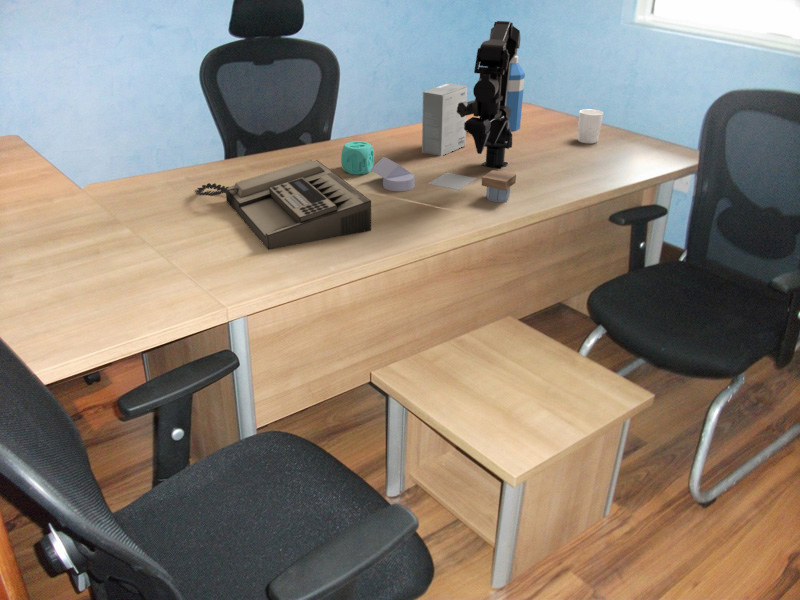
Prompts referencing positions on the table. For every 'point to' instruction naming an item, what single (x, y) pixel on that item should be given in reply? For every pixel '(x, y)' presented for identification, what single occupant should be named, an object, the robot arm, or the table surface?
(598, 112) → the white cup
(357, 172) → the decorative dice
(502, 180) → the block
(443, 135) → the hard drive box
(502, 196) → the grey ring collar
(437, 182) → the mat
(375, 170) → the wedge on round base
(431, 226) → the table surface
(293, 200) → the fax machine
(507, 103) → the water bottle
